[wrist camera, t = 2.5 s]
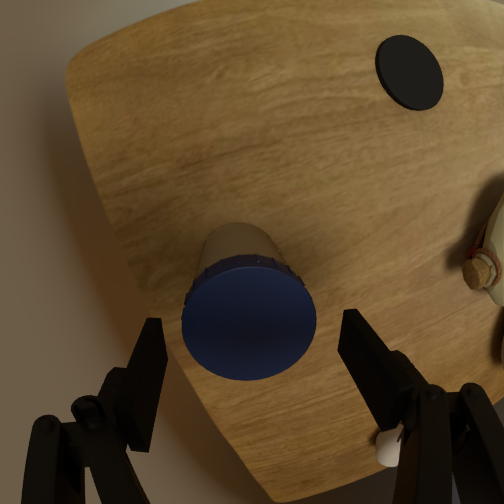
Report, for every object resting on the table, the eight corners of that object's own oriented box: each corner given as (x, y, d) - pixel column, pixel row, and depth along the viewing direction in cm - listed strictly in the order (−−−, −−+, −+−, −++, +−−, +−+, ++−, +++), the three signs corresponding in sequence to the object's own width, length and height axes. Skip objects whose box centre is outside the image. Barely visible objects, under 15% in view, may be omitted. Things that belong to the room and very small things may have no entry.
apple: (404, 409, 36) (427, 445, 29) (409, 428, 39) (429, 461, 31) (363, 432, 37) (381, 472, 29) (372, 450, 39) (389, 485, 31)
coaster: (362, 75, 23) (366, 73, 22) (392, 23, 21) (396, 20, 20) (423, 126, 24) (428, 126, 24) (447, 72, 23) (452, 71, 22)
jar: (185, 277, 27) (167, 345, 17) (222, 208, 25) (223, 243, 15) (253, 309, 28) (269, 385, 18) (292, 246, 27) (333, 299, 17)
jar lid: (165, 333, 18) (160, 352, 16) (221, 229, 16) (221, 238, 15) (267, 375, 20) (272, 395, 18) (331, 287, 18) (343, 302, 16)
